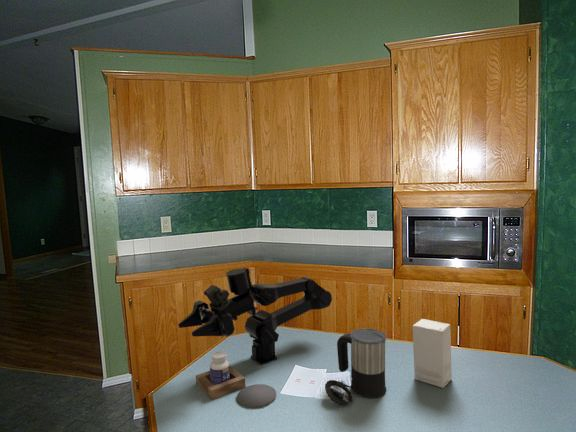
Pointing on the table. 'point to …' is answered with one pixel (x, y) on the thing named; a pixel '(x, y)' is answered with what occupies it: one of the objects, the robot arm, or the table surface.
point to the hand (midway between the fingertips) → (185, 330)
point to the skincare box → (432, 352)
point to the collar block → (223, 388)
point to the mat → (256, 396)
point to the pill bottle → (219, 368)
